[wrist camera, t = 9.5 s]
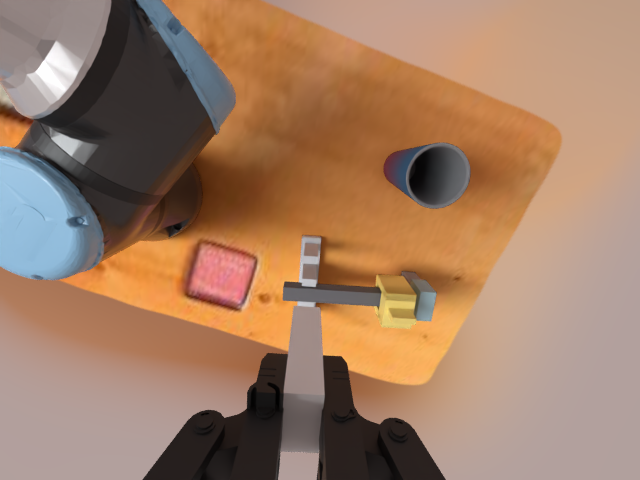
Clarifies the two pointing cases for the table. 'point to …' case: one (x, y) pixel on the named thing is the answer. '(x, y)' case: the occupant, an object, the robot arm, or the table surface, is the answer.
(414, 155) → the cup
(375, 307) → the sleeve
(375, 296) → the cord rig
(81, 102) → the robot arm
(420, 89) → the table surface
